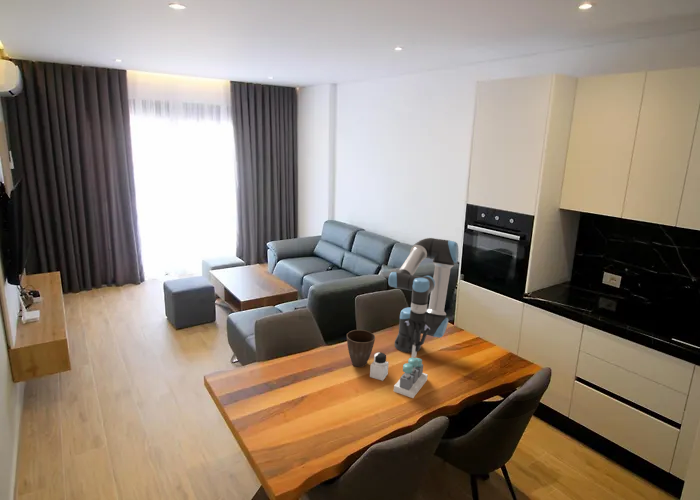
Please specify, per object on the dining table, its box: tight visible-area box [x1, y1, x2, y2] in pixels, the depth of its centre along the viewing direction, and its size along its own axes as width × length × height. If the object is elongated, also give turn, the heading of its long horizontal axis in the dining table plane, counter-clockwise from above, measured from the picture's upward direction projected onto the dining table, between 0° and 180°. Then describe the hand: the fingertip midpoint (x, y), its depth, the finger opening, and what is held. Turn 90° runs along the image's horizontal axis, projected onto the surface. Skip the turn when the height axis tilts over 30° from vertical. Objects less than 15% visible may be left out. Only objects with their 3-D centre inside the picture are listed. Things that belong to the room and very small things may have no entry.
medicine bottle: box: [369, 352, 389, 382], centre depth 217 cm, size 7×7×12 cm
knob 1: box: [402, 362, 413, 379], centre depth 203 cm, size 5×5×8 cm
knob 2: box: [407, 357, 418, 373], centre depth 209 cm, size 5×5×8 cm
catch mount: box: [393, 363, 429, 399], centre depth 210 cm, size 10×19×8 cm, turn 150°
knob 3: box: [415, 357, 423, 367], centre depth 215 cm, size 5×5×8 cm
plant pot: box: [346, 329, 376, 368], centre depth 227 cm, size 15×15×16 cm
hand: (413, 356), depth 207 cm, fingers closed
